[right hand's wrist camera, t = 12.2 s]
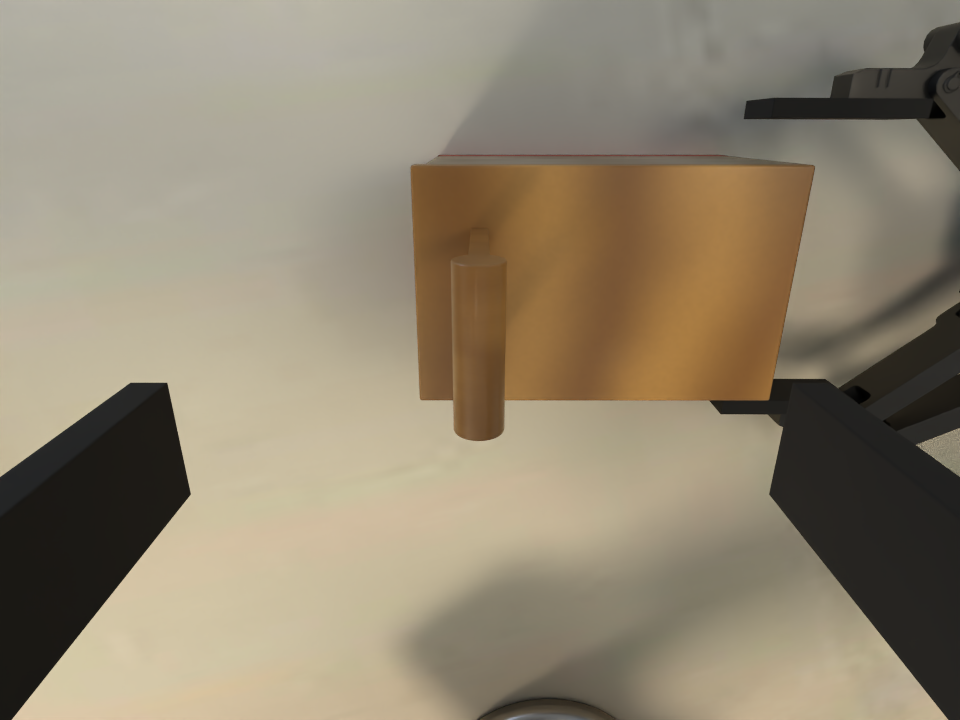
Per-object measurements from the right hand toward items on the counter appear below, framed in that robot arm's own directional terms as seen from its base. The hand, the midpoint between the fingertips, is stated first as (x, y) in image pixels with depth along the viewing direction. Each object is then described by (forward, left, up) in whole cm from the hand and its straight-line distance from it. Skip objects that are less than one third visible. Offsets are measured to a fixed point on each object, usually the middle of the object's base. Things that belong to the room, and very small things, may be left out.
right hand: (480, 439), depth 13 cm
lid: (+3, -4, -13) cm, 14 cm away
